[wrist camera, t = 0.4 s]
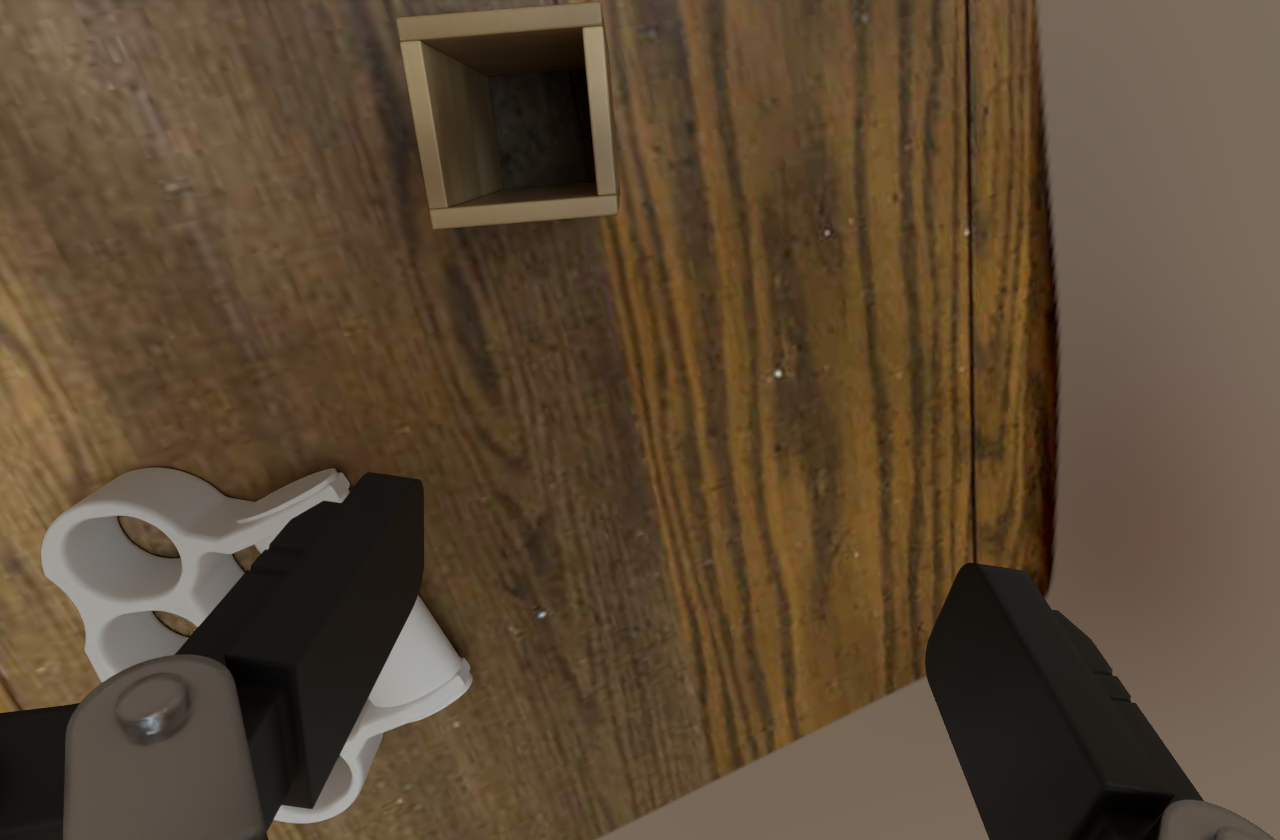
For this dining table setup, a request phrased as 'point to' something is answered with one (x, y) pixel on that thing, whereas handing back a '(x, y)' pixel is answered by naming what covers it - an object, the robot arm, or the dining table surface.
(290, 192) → the dining table surface
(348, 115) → the dining table surface
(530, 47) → the birch sleeve
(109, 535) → the white brass knuckles
